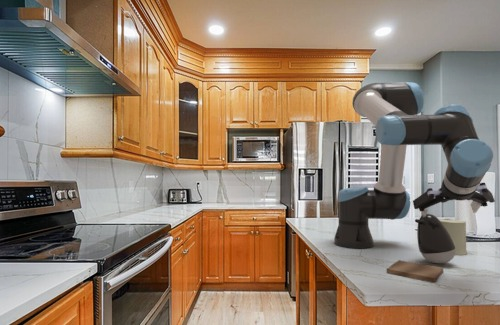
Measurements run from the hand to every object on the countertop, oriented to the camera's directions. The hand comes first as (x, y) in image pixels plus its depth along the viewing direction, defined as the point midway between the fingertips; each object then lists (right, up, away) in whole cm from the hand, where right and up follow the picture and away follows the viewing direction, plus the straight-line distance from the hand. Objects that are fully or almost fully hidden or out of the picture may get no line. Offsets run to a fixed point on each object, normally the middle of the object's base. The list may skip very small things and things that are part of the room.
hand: (447, 210), depth 94 cm
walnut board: (-14, -17, -7) cm, 23 cm away
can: (+13, -18, +17) cm, 28 cm away
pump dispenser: (-1, -17, +1) cm, 17 cm away
